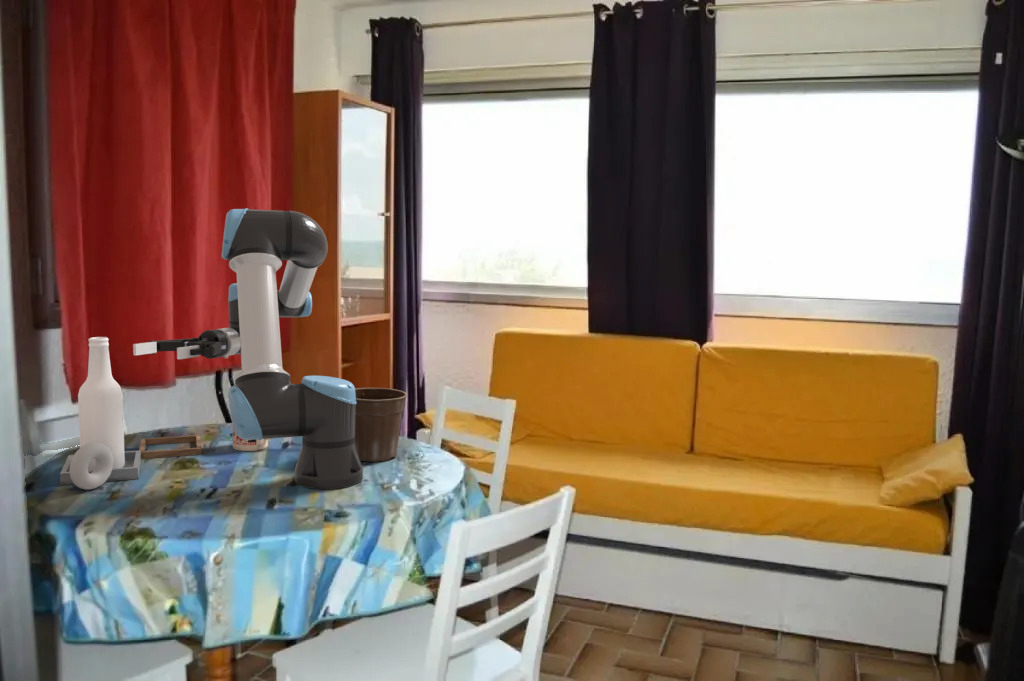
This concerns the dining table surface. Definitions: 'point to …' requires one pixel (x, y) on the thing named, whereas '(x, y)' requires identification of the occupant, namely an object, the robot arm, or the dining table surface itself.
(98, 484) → the donut
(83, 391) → the alcohol
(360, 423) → the plant pot
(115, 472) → the tray
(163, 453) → the square wooden frame
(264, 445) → the teacup with lid
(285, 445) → the dining table surface
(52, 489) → the dining table surface
